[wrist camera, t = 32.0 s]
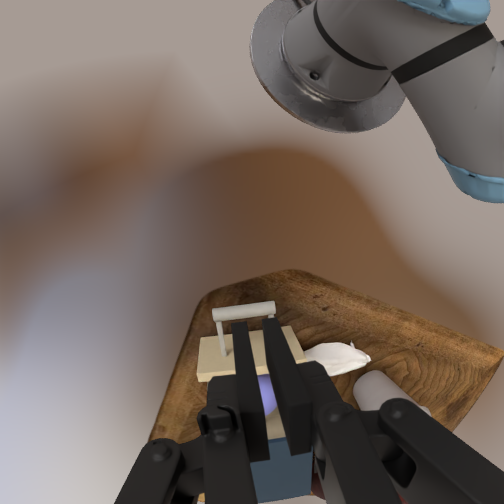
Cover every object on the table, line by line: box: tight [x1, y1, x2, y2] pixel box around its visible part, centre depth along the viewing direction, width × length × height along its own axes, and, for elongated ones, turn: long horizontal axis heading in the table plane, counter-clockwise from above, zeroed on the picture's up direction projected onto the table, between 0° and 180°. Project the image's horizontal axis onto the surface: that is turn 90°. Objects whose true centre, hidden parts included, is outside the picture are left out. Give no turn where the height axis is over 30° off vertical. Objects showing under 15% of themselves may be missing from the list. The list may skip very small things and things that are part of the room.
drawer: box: [197, 301, 307, 440], centre depth 37 cm, size 23×12×9 cm, turn 6°
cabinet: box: [250, 437, 313, 503], centre depth 41 cm, size 18×14×11 cm
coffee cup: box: [353, 370, 431, 416], centre depth 39 cm, size 10×10×15 cm
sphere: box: [257, 374, 277, 416], centre depth 37 cm, size 7×7×7 cm
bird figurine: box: [303, 340, 371, 376], centre depth 41 cm, size 5×7×10 cm
